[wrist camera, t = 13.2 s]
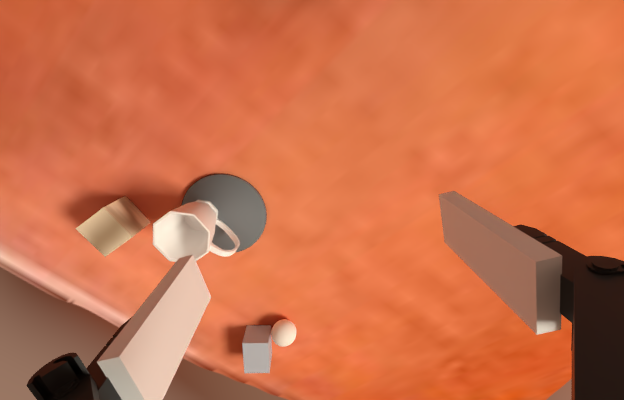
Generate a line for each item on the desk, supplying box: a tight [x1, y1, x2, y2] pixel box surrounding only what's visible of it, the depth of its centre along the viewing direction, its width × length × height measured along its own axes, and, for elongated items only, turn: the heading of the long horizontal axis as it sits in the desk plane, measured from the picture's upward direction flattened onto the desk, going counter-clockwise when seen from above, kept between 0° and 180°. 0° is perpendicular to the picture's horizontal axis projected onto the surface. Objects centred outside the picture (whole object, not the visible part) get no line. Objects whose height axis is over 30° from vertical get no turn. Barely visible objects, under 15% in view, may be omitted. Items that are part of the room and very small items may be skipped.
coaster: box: [182, 174, 267, 252], centre depth 43 cm, size 12×12×1 cm
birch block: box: [76, 196, 151, 257], centre depth 41 cm, size 5×5×5 cm
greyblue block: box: [242, 325, 272, 373], centre depth 49 cm, size 6×4×4 cm, turn 179°
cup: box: [153, 200, 240, 262], centre depth 39 cm, size 7×10×8 cm
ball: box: [271, 319, 296, 347], centre depth 48 cm, size 4×4×4 cm
